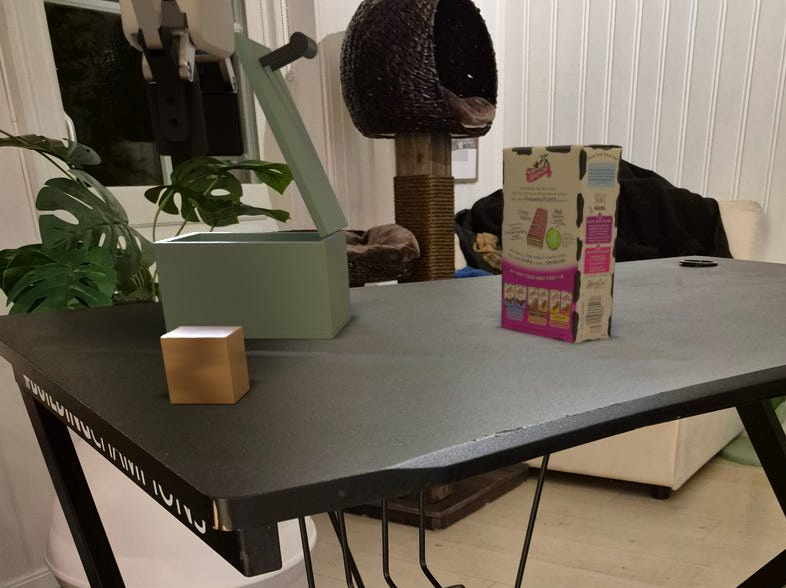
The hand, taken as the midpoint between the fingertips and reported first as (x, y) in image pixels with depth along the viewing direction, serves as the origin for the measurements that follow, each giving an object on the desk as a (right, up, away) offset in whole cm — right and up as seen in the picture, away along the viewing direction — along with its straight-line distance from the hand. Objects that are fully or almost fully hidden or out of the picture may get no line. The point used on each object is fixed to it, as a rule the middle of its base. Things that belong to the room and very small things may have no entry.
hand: (204, 155), depth 62 cm
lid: (+2, +12, +20) cm, 24 cm away
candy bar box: (+26, -4, +25) cm, 37 cm away
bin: (-3, -3, +28) cm, 29 cm away
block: (-1, -15, +4) cm, 16 cm away
